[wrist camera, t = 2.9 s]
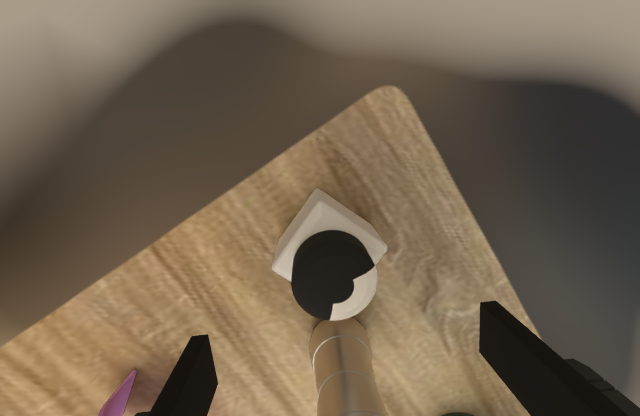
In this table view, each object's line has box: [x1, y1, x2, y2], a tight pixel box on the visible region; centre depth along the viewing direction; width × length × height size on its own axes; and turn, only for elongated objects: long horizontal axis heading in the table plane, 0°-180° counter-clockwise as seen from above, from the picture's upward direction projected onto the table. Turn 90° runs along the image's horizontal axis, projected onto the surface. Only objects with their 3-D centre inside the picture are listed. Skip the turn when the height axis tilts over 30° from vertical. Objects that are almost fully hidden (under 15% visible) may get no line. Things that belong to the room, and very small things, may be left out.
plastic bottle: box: [309, 317, 389, 416], centre depth 26 cm, size 6×7×20 cm
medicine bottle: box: [272, 188, 387, 321], centre depth 27 cm, size 7×7×12 cm
